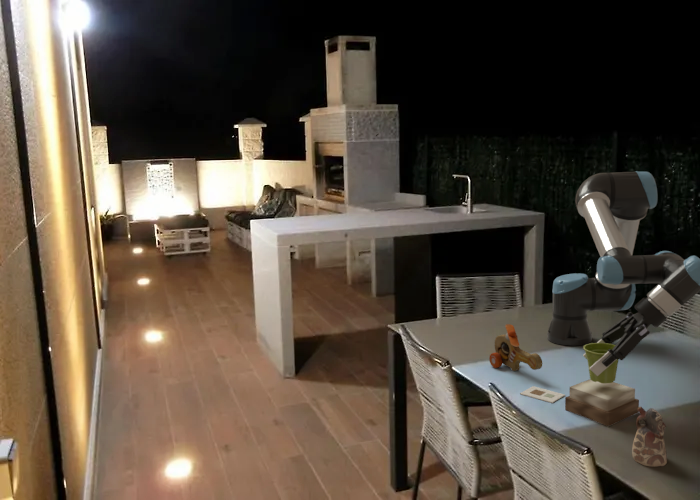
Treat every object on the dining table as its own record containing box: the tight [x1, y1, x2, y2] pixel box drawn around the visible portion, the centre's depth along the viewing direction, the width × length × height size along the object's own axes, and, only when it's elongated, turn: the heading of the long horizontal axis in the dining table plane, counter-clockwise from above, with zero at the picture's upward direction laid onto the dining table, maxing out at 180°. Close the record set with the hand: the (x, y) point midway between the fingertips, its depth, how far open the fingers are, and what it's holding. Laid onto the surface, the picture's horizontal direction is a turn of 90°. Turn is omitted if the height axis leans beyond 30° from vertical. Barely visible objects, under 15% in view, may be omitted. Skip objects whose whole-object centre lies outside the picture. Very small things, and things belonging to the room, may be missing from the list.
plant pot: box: [582, 342, 619, 383], centre depth 167 cm, size 9×9×9 cm
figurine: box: [631, 406, 668, 468], centre depth 143 cm, size 7×7×12 cm
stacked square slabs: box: [564, 378, 640, 427], centre depth 169 cm, size 13×13×6 cm
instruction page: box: [520, 385, 566, 404], centre depth 182 cm, size 10×7×1 cm
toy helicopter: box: [488, 323, 543, 372], centre depth 199 cm, size 8×21×14 cm, turn 25°
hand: (589, 365), depth 168 cm, fingers closed on plant pot, 9 cm apart
